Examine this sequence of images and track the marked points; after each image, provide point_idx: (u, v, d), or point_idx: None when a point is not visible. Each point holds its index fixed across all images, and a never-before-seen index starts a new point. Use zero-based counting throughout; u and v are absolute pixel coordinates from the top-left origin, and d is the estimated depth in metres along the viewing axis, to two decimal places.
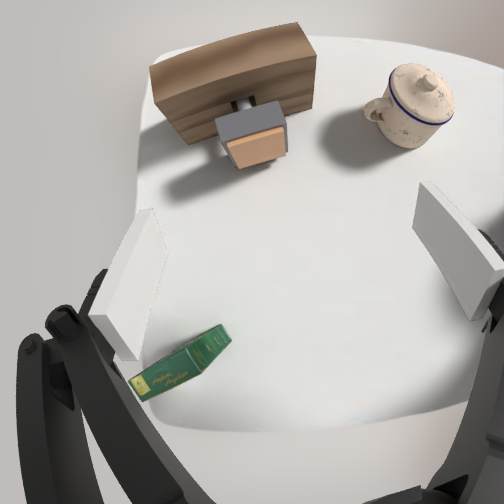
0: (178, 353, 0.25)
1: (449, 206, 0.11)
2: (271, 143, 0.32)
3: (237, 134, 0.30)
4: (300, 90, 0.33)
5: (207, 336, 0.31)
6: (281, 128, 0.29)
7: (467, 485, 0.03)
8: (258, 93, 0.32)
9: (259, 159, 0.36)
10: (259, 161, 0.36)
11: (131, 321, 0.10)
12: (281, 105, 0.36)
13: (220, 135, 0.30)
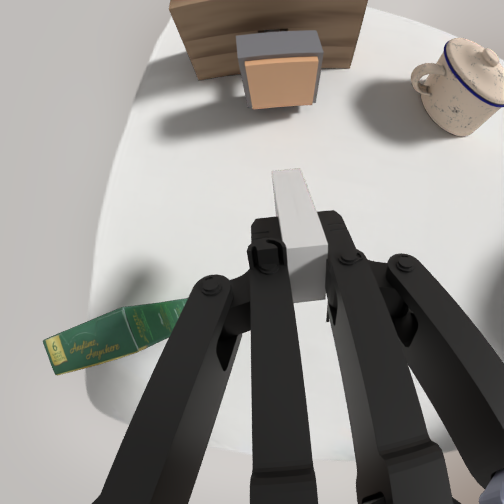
0: (111, 313, 0.16)
1: (299, 189, 0.13)
2: (300, 77, 0.23)
3: (260, 53, 0.21)
4: (342, 38, 0.25)
5: (165, 305, 0.22)
6: (316, 58, 0.21)
7: None
8: (292, 27, 0.23)
9: (279, 101, 0.27)
10: (279, 104, 0.27)
11: None
12: None
13: (238, 51, 0.21)
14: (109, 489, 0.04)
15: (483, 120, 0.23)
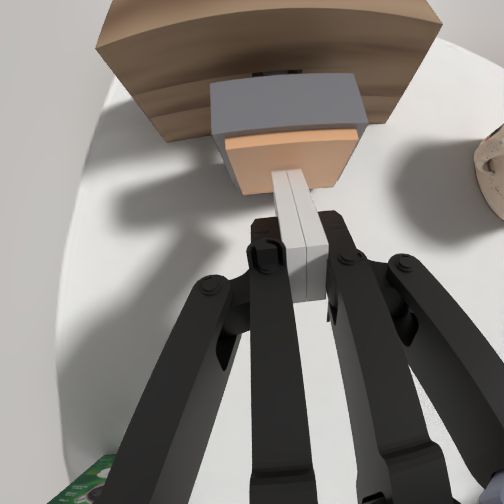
0: None
1: (299, 189, 0.13)
2: (321, 159, 0.15)
3: (254, 123, 0.12)
4: (384, 85, 0.16)
5: None
6: (354, 132, 0.13)
7: None
8: (310, 68, 0.15)
9: None
10: None
11: None
12: None
13: (214, 119, 0.13)
14: (109, 489, 0.04)
15: None
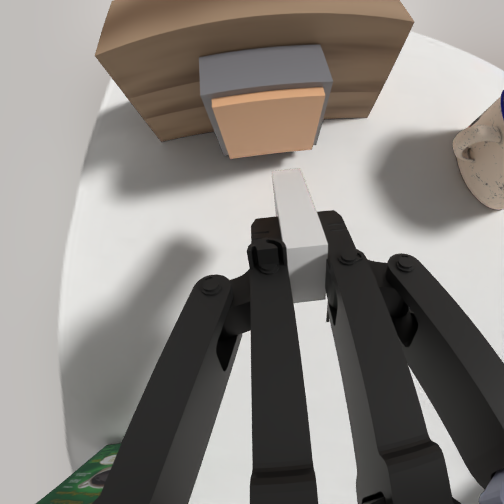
0: None
1: (299, 189, 0.13)
2: (296, 117, 0.16)
3: (235, 85, 0.14)
4: (363, 81, 0.18)
5: None
6: (321, 90, 0.14)
7: None
8: None
9: (267, 147, 0.20)
10: (266, 151, 0.21)
11: None
12: None
13: (202, 83, 0.14)
14: (109, 489, 0.04)
15: None
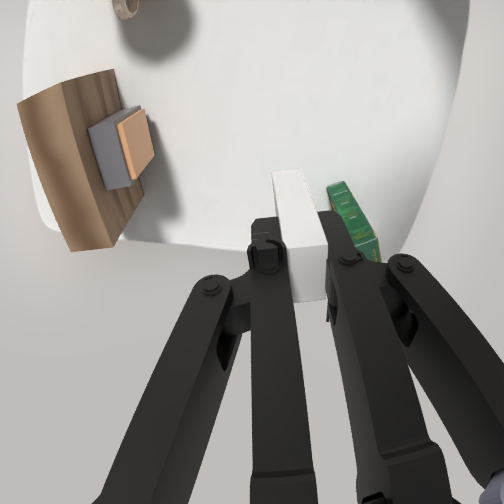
0: None
1: (299, 189, 0.13)
2: (132, 131, 0.28)
3: (123, 169, 0.27)
4: (96, 88, 0.25)
5: (341, 212, 0.34)
6: (118, 125, 0.25)
7: None
8: None
9: (147, 136, 0.32)
10: (148, 135, 0.32)
11: None
12: (110, 104, 0.29)
13: (123, 186, 0.28)
14: (109, 489, 0.04)
15: None
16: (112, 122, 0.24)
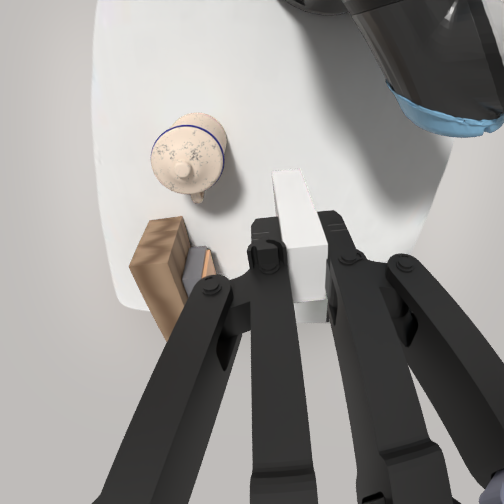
0: None
1: (299, 189, 0.13)
2: None
3: None
4: (179, 244, 0.46)
5: None
6: None
7: None
8: None
9: (213, 268, 0.53)
10: (213, 266, 0.53)
11: None
12: (185, 247, 0.50)
13: None
14: (109, 489, 0.04)
15: (222, 139, 0.37)
16: (199, 278, 0.45)
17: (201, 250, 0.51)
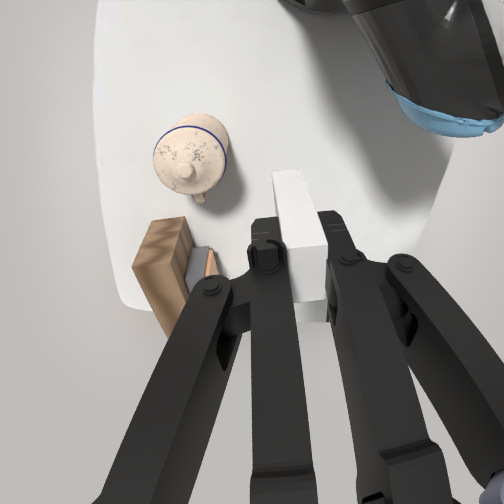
0: None
1: (299, 189, 0.13)
2: None
3: None
4: (181, 244, 0.47)
5: None
6: None
7: None
8: None
9: (215, 268, 0.53)
10: (216, 266, 0.53)
11: None
12: (188, 247, 0.50)
13: None
14: (109, 489, 0.04)
15: (224, 139, 0.37)
16: None
17: (204, 250, 0.51)
